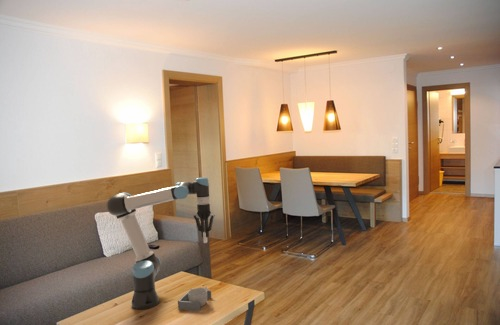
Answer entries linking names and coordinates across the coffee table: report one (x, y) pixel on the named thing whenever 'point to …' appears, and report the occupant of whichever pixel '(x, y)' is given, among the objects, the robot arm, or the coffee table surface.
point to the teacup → (198, 295)
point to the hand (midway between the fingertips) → (205, 242)
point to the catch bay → (187, 305)
